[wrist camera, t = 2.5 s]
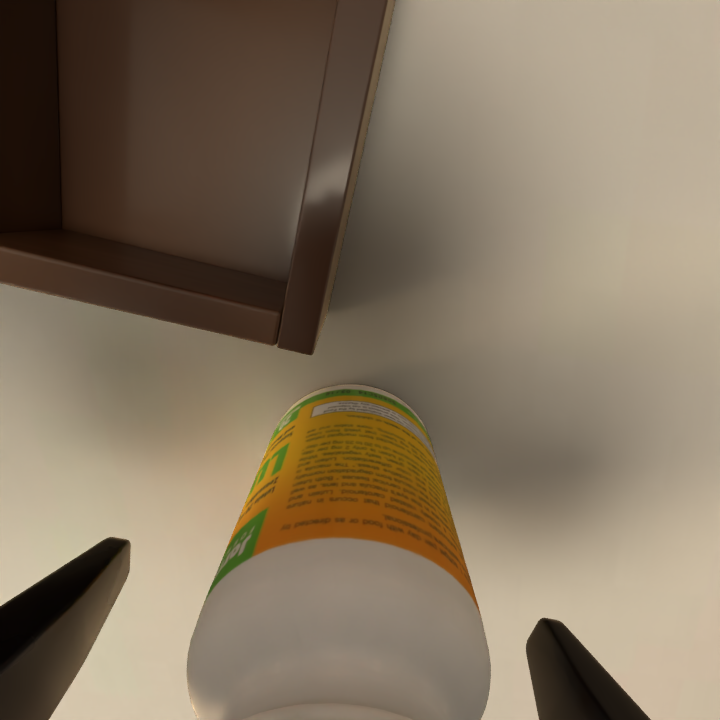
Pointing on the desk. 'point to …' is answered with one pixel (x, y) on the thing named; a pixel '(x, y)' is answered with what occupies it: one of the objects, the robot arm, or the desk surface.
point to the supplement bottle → (342, 579)
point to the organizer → (186, 155)
